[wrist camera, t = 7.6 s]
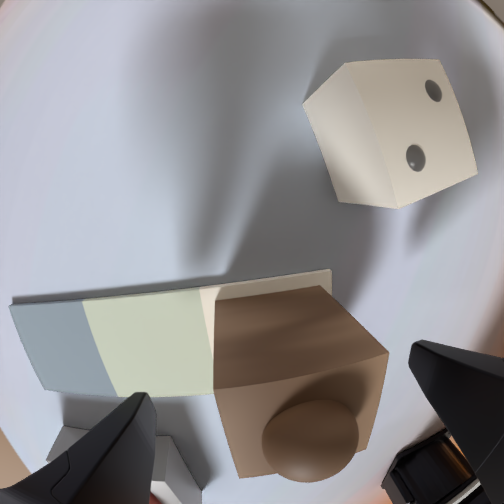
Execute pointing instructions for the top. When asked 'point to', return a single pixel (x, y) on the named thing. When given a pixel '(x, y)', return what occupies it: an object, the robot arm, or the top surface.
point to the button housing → (164, 471)
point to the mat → (136, 338)
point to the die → (390, 131)
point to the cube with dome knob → (294, 383)
